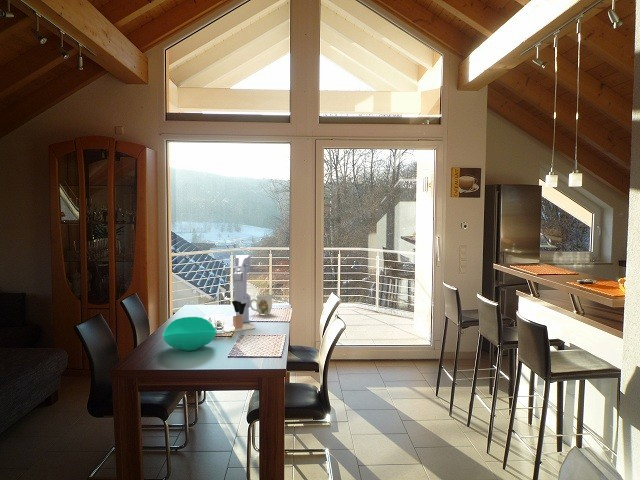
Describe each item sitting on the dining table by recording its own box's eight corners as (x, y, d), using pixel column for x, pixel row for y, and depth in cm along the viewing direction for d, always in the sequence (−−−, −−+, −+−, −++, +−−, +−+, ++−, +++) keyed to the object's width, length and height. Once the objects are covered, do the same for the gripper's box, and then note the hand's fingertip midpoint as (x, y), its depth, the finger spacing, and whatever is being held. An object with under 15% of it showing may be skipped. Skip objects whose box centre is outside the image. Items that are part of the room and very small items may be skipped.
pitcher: (251, 313, 354) (250, 294, 353) (276, 312, 355) (275, 293, 354) (249, 316, 343) (248, 296, 342) (275, 315, 344) (274, 296, 343)
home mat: (219, 328, 309) (219, 327, 309) (246, 324, 318) (246, 323, 318) (227, 332, 297) (227, 331, 297) (255, 328, 306) (255, 327, 306)
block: (233, 327, 308) (232, 316, 308) (240, 326, 310) (239, 315, 310) (235, 328, 304) (235, 317, 304) (242, 327, 307) (242, 316, 306)
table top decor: (219, 357, 248) (218, 330, 247) (161, 362, 240) (160, 335, 239) (214, 337, 286) (213, 315, 285) (164, 341, 278) (163, 318, 277)
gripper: (249, 292, 303) (249, 314, 304) (240, 289, 315) (240, 310, 316) (238, 293, 299) (238, 315, 300) (229, 290, 312) (230, 311, 313)
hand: (239, 313), depth 308 cm, fingers open, 7 cm apart
